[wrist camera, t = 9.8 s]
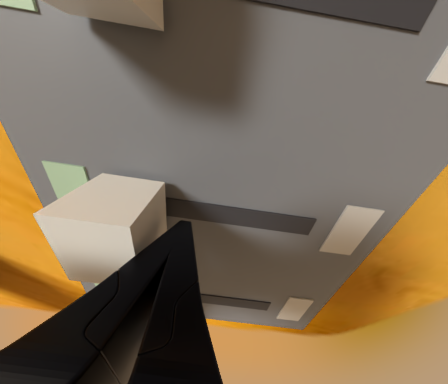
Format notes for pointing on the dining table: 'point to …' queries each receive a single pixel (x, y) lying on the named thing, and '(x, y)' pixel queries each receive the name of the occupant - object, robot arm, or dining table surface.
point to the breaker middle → (103, 224)
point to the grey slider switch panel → (241, 129)
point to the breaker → (116, 11)
